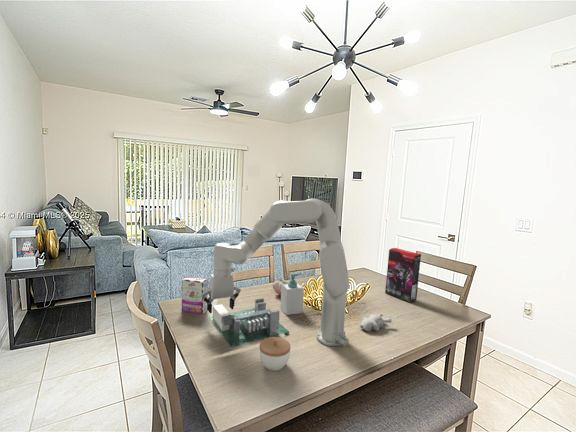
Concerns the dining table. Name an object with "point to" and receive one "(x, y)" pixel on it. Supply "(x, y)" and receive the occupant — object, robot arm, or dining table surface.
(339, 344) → the robot arm
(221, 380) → the dining table surface
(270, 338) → the lidded jar
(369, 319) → the bunny figurine
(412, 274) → the graphics card box
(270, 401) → the dining table surface
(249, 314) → the grey capped bar
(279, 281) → the decorative fruit
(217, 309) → the plain white rectangular block
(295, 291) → the soap bottle
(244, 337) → the green base metal fixture
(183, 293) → the candy bar box
